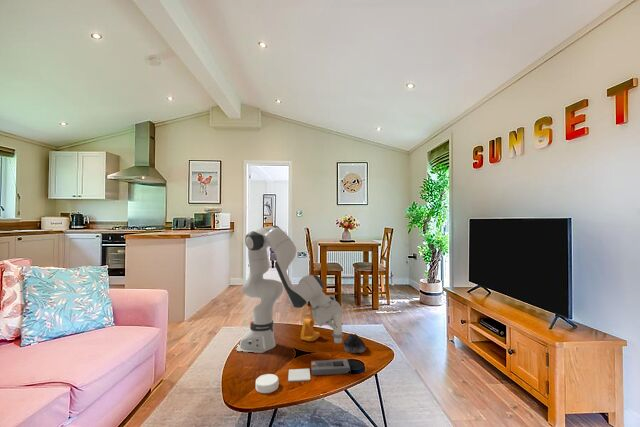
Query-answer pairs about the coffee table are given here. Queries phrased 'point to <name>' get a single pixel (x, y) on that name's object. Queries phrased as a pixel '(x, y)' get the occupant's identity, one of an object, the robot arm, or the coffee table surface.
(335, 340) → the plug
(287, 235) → the robot arm
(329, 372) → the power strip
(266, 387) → the coaster
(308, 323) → the bracket
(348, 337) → the crystal cluster
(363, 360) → the coffee table surface
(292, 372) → the mat
